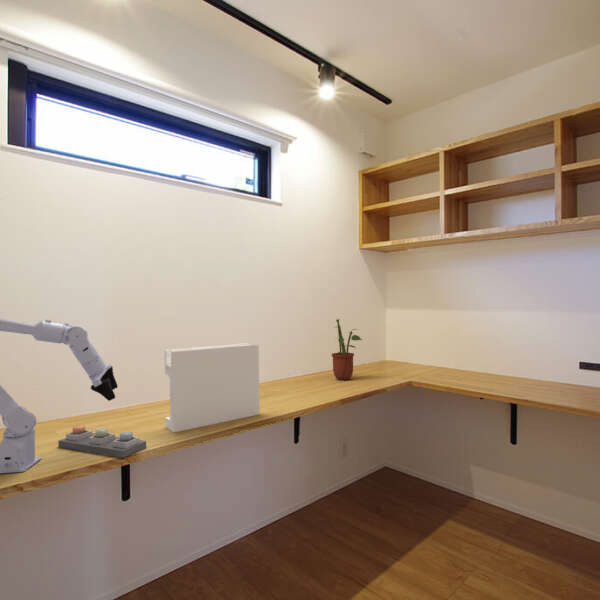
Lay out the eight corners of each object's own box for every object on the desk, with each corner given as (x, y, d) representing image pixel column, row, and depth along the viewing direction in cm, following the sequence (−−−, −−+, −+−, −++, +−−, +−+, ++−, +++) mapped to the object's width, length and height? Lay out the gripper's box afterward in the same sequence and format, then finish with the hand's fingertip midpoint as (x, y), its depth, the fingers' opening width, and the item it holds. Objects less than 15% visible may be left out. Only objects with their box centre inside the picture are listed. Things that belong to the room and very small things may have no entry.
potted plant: (334, 381, 223) (332, 319, 224) (329, 377, 239) (328, 319, 239) (364, 380, 225) (363, 319, 225) (358, 376, 240) (356, 318, 241)
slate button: (135, 437, 121) (135, 432, 121) (126, 441, 118) (126, 436, 118) (126, 436, 122) (126, 431, 122) (116, 439, 119) (116, 434, 119)
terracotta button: (88, 430, 128) (88, 426, 128) (78, 434, 125) (78, 429, 125) (80, 429, 130) (80, 424, 130) (70, 432, 126) (70, 428, 126)
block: (173, 432, 137) (172, 351, 138) (165, 427, 144) (164, 349, 144) (259, 414, 159) (258, 344, 159) (249, 410, 165) (248, 343, 165)
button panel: (146, 447, 123) (146, 435, 123) (123, 458, 114) (123, 445, 114) (83, 438, 133) (83, 427, 133) (58, 447, 125) (58, 435, 125)
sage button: (110, 433, 125) (110, 429, 125) (101, 437, 121) (101, 432, 121) (102, 432, 126) (102, 428, 126) (92, 436, 123) (92, 431, 123)
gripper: (99, 362, 118) (123, 397, 123) (105, 346, 131) (126, 378, 136) (76, 373, 117) (101, 409, 121) (84, 356, 130) (107, 388, 135)
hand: (113, 393), depth 129 cm, fingers open, 7 cm apart
